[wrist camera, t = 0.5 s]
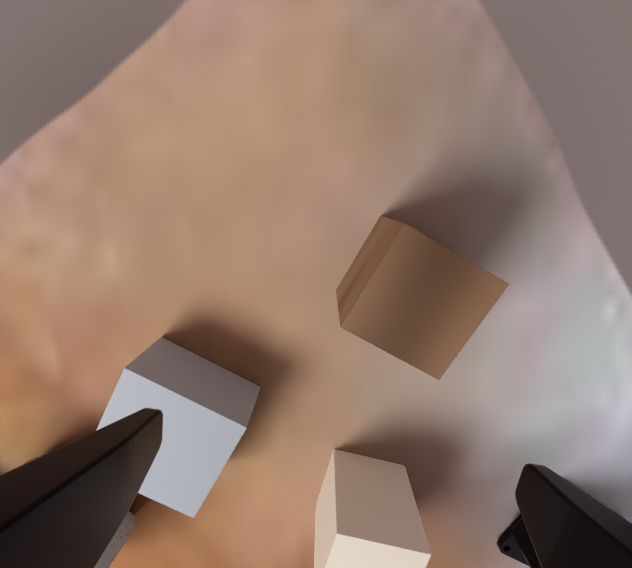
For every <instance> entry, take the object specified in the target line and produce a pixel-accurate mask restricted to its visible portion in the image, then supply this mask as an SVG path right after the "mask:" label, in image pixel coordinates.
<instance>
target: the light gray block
mask: <svg viewBox="0 0 632 568" xmlns="http://www.w3.org/2000/svg"><path fill="white" fill-rule="evenodd" d="M260 388H261V387H260V386H258V385H256V384H254V383H252V382H250V381H248V380H246V379H244V378H242V377H240V376H238V375H236V374H234V373H232V372H230V371H228V370H226V369H224V368H222V367H220V366H218V365H216V364H214V363H212V362H210V361H208V360H206V359H204V358H202V357H200V356H198V355H196V354H194V353H192V352H190V351H188V350H186V349H184V348H182V347H180V346H178V345H176V344H174V343H173V342H171V341H169V340H167V339H165V338H163V337H161V338H159V339H158V340H157V341H156V342H155V343H154V344H152V345H151V346H150V347H149V348H148V349H146V350H145V351H144V352H143V353H142V354H140V355H139V356H138V357H137V358H136V359H135V360H133V361H132V362H131V363H130V364H129V365H127V366H126V367H125V368H124V370H123V372H122V375H121V377H120V379H119V381H118V383H117V386H116V388H115V390H114V392H113V394H112V397H111V399H110V401H109V403H108V405H107V408H106V410H105V412H104V414H103V416H102V419H101V421H100V423H99V425H98V427H97V430H99V429H101V428H103V427H105V426H107V425H109V424H111V423H113V422H116V421H118V420H120V419H122V418H124V417H126V416H128V415H131V414H133V413H135V412H137V411H139V410H141V409H144V408H152V409H159V410H161V411H162V413H163V434H162V443H161V446H160V449H159V451H158V453H157V455H156V457H155V459H154V461H153V463H152V465H151V467H150V469H149V471H148V473H147V475H146V477H145V479H144V481H143V483H142V485H141V487H140V490H139V492H138V493H139V494H141V495H143V496H146V497H148V498H150V499H152V500H154V501H157V502H159V503H161V504H163V505H166V506H168V507H170V508H172V509H174V510H177V511H179V512H181V513H183V514H185V515H188V516H190V517H192V518H194V517H195V515H196V513H197V512H198V510H199V508H200V506H201V505H202V503H203V501H204V500H205V498H206V496H207V495H208V493H209V491H210V489H211V488H212V486H213V484H214V483H215V481H216V479H217V478H218V476H219V474H220V473H221V471H222V469H223V467H224V466H225V464H226V462H227V461H228V459H229V457H230V456H231V454H232V452H233V450H234V449H235V447H236V445H237V444H238V442H239V440H240V439H241V437H242V435H243V434H244V432H245V430H246V428H247V426H248V423H249V420H250V417H251V414H252V411H253V408H254V405H255V403H256V400H257V397H258V394H259V391H260Z"/></svg>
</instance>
